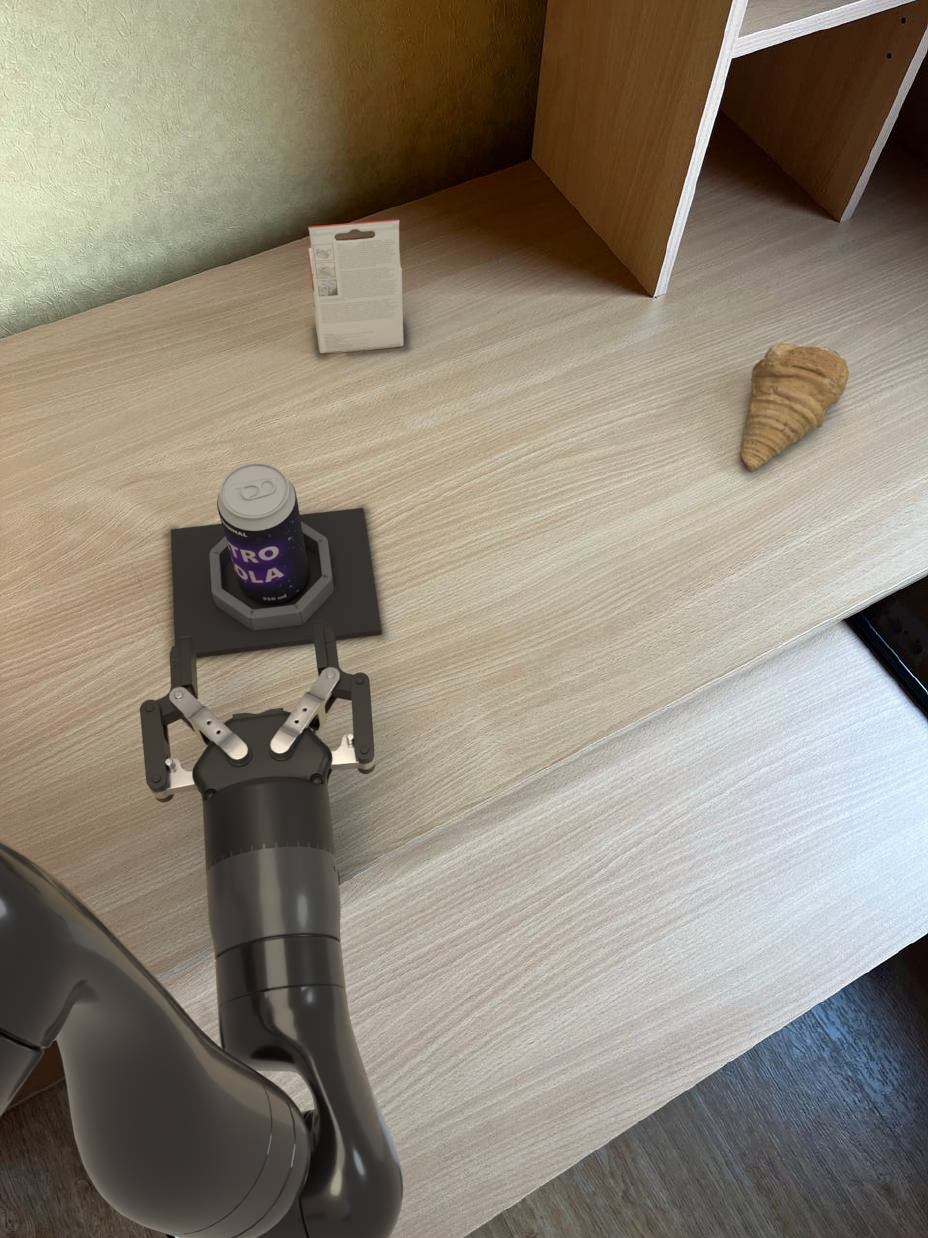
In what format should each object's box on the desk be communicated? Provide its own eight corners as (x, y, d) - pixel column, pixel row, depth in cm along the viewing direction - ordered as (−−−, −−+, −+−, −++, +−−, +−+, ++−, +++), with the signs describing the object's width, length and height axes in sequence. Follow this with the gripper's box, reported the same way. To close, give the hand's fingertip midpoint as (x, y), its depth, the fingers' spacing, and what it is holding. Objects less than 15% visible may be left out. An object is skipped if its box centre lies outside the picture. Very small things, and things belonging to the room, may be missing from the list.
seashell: (742, 491, 98) (827, 498, 93) (710, 450, 92) (800, 456, 87) (783, 360, 100) (868, 360, 96) (754, 311, 94) (844, 309, 89)
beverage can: (230, 562, 86) (204, 471, 76) (296, 541, 87) (280, 448, 77) (251, 618, 83) (227, 532, 73) (319, 596, 85) (305, 507, 74)
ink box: (316, 328, 100) (301, 198, 88) (399, 321, 101) (396, 191, 89) (319, 356, 99) (305, 228, 86) (404, 349, 99) (402, 221, 87)
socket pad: (177, 660, 82) (169, 643, 80) (172, 534, 88) (165, 514, 86) (381, 634, 84) (380, 617, 82) (363, 512, 90) (362, 492, 88)
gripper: (392, 834, 59) (357, 590, 67) (133, 873, 58) (128, 618, 66) (394, 873, 66) (362, 646, 74) (161, 909, 64) (154, 673, 72)
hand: (252, 633), depth 70 cm, fingers open, 8 cm apart
